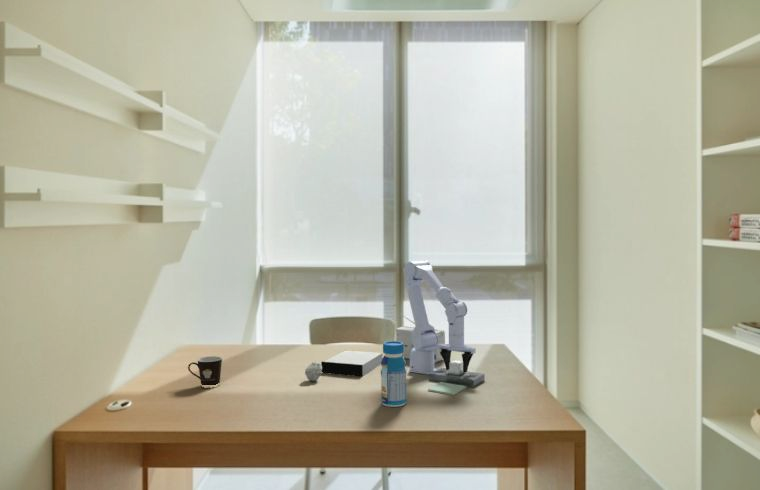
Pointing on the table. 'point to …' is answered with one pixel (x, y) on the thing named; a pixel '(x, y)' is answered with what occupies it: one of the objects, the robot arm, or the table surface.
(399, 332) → the stereo radio cassette player
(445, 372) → the plate with square hole
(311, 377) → the frog figurine
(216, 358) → the coffee mug
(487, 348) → the table surface
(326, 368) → the disc drive
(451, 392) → the rubber pad
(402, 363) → the beverage bottle
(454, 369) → the steel peg
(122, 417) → the table surface
